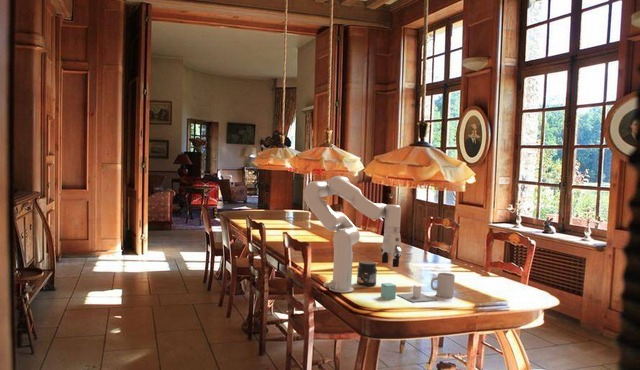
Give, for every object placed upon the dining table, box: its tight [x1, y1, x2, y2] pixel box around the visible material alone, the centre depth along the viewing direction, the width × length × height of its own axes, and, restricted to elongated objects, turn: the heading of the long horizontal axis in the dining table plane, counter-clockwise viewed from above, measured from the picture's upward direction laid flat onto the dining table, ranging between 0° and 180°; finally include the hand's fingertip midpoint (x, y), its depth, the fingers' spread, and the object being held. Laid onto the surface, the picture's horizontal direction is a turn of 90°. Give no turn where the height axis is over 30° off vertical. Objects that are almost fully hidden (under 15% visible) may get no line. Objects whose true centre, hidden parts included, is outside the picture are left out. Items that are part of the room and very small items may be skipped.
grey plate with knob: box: [396, 284, 438, 304], centre depth 264 cm, size 14×14×6 cm
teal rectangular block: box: [380, 282, 397, 300], centre depth 262 cm, size 5×5×7 cm
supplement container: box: [356, 260, 378, 288], centre depth 288 cm, size 10×10×12 cm
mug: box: [430, 272, 456, 299], centre depth 272 cm, size 12×8×11 cm
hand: (390, 264), depth 262 cm, fingers open, 9 cm apart
